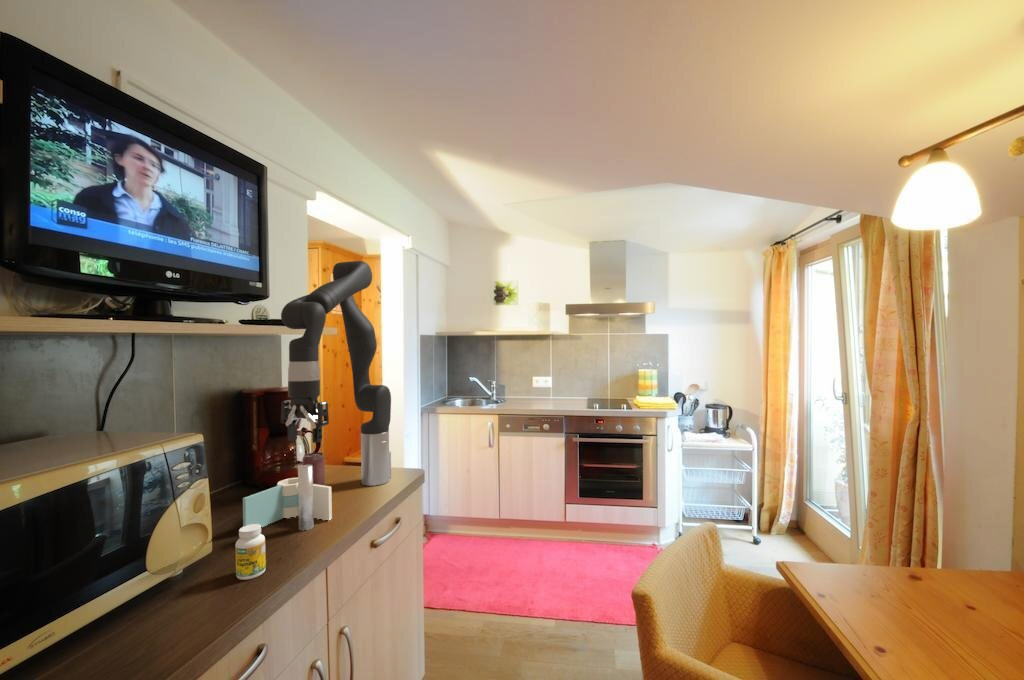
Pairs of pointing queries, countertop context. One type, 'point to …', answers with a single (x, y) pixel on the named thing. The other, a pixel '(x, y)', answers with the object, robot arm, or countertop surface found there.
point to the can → (316, 466)
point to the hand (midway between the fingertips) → (304, 441)
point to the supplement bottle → (250, 552)
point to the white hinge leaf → (320, 499)
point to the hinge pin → (305, 497)
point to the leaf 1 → (266, 506)
